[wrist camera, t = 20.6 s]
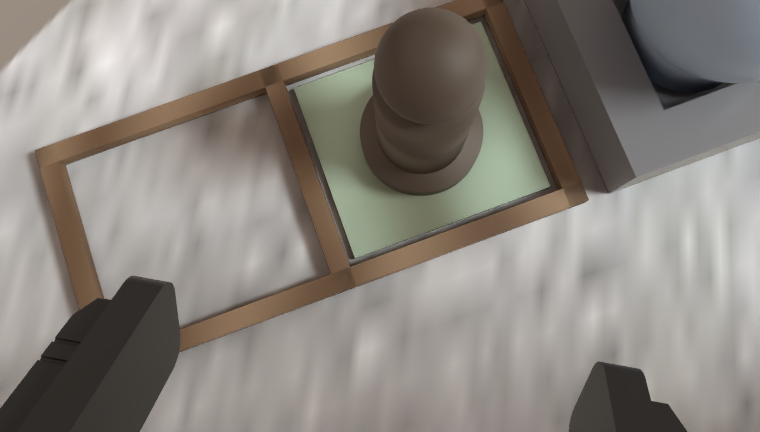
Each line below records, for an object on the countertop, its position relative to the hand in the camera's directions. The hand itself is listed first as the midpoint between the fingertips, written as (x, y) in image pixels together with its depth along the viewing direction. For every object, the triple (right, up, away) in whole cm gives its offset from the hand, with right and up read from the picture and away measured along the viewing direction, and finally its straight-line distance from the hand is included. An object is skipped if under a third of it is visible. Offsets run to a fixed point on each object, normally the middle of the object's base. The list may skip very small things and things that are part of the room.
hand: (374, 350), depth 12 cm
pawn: (+2, +6, +14) cm, 16 cm away
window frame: (-3, +4, +14) cm, 15 cm away
